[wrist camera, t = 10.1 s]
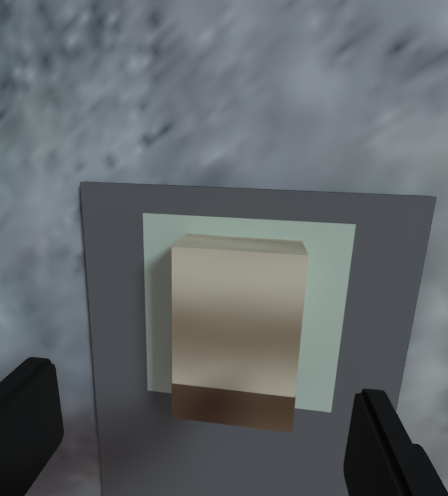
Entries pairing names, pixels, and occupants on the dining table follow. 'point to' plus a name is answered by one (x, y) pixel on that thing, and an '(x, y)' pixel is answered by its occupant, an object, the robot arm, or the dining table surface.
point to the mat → (311, 344)
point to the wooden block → (237, 329)
